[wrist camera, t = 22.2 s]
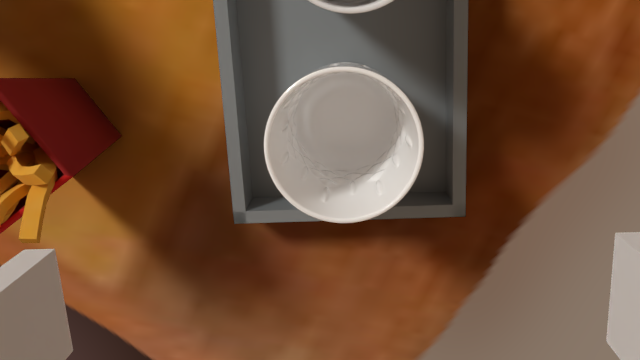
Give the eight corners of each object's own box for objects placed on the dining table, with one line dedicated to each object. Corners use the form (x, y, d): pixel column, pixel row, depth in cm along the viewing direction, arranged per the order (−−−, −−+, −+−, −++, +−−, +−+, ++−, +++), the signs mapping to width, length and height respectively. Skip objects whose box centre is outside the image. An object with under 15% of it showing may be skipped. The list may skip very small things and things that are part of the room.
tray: (209, -173, 36) (195, -192, 33) (459, -192, 35) (471, -213, 32) (243, 206, 42) (234, 223, 39) (456, 199, 41) (465, 216, 38)
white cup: (271, 153, 40) (245, 197, 31) (305, 36, 38) (288, 45, 29) (384, 187, 41) (393, 242, 31) (424, 74, 38) (447, 95, 29)
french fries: (75, 57, 40) (-82, 83, 26) (156, 156, 42) (50, 233, 27) (-17, 135, 42) (-213, 200, 27) (63, 226, 43) (-81, 334, 29)
